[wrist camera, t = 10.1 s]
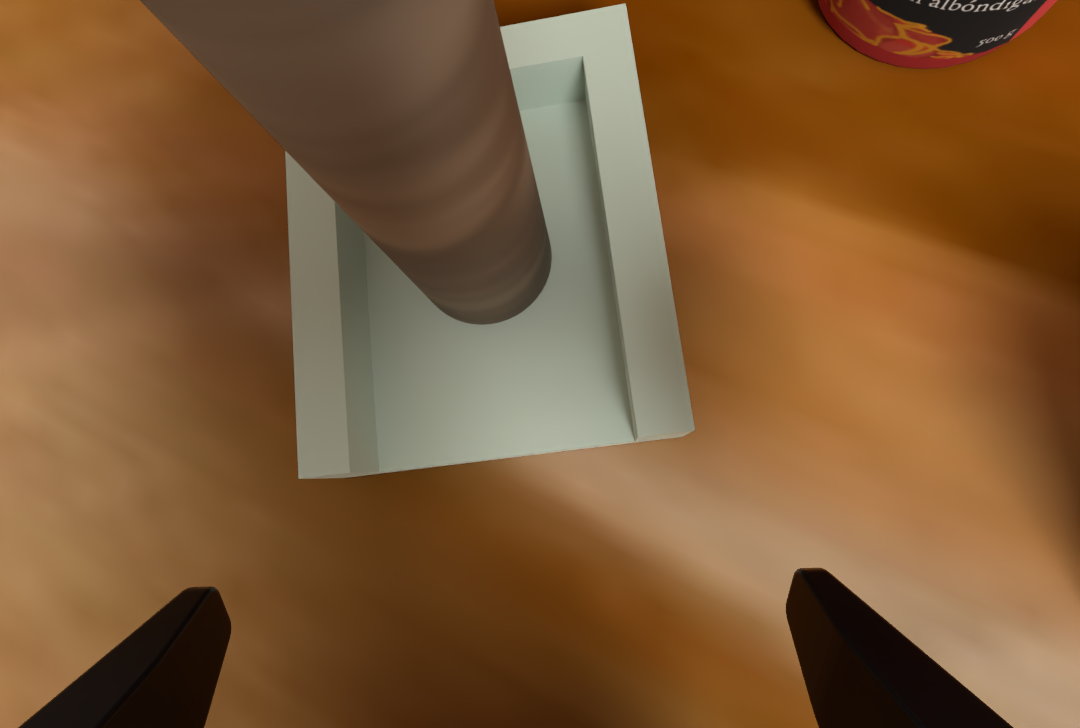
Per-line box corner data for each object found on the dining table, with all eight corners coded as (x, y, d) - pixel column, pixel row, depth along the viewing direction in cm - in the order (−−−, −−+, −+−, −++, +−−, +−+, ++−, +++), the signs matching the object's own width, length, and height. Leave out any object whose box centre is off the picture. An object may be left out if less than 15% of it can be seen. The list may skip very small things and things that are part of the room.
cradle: (682, 436, 19) (694, 430, 16) (344, 478, 20) (298, 478, 17) (623, 67, 22) (625, 3, 19) (324, 120, 23) (281, 67, 20)
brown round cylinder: (528, 340, 19) (381, 69, 7) (400, 305, 20) (45, -2, 7) (568, 213, 20) (502, -253, 7) (442, 183, 21) (183, -292, 8)
